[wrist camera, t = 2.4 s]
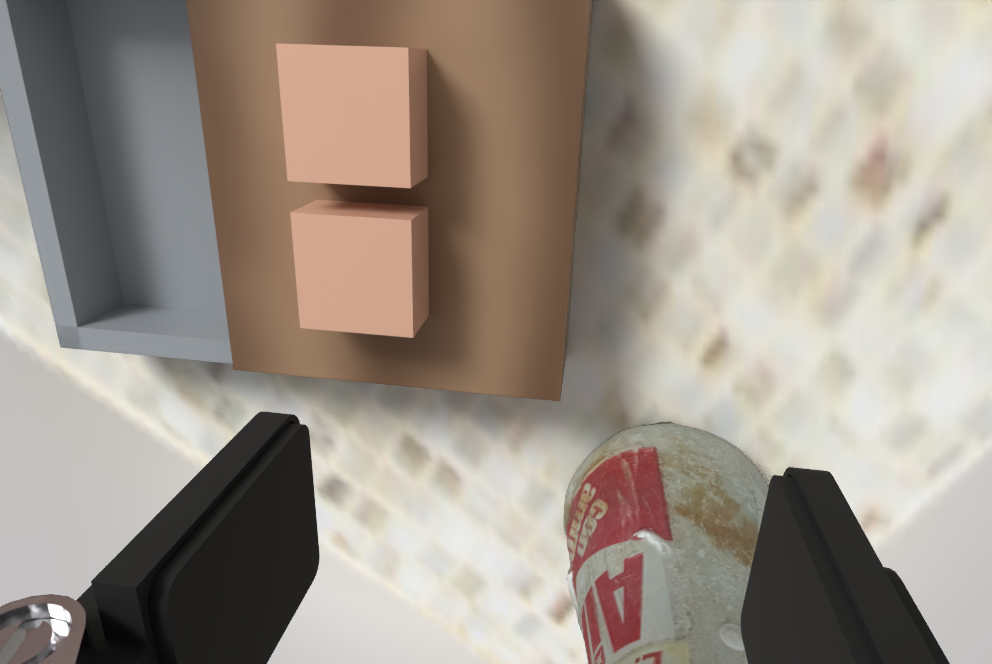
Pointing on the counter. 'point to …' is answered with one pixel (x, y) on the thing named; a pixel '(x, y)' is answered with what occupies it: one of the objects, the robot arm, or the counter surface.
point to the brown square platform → (446, 191)
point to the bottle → (663, 546)
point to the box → (116, 173)
